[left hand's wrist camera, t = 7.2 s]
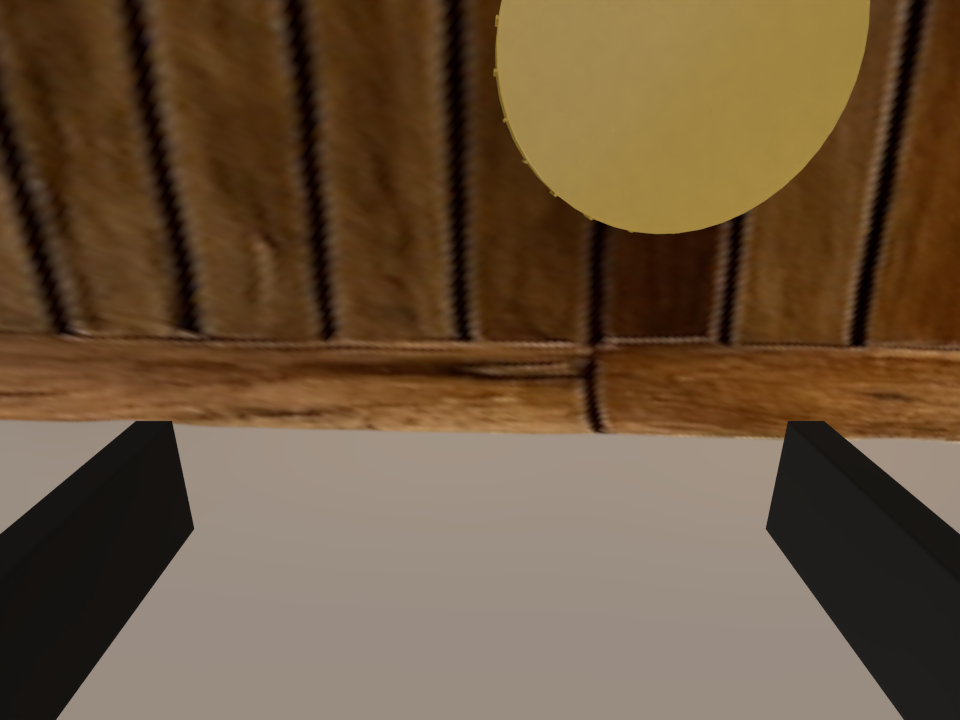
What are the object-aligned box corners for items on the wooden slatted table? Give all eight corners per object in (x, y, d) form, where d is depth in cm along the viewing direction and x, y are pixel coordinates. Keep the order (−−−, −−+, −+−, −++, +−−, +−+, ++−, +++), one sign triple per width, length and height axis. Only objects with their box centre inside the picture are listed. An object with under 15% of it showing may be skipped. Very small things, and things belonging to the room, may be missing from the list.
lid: (902, -81, 18) (946, -105, 17) (744, 264, 22) (767, 275, 20) (558, -213, 17) (567, -253, 16) (454, 174, 21) (451, 177, 19)
